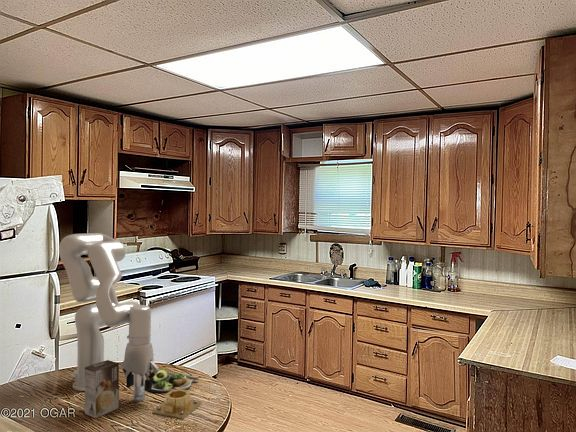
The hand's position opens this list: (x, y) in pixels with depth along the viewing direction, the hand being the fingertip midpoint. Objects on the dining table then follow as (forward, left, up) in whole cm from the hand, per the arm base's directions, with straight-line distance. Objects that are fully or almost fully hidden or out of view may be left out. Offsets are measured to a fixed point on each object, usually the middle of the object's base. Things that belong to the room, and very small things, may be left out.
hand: (139, 387), depth 159 cm
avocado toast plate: (+2, +16, -5) cm, 17 cm away
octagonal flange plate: (+17, -1, -4) cm, 18 cm away
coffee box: (-6, -12, -5) cm, 14 cm away
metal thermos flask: (0, 0, -4) cm, 4 cm away
